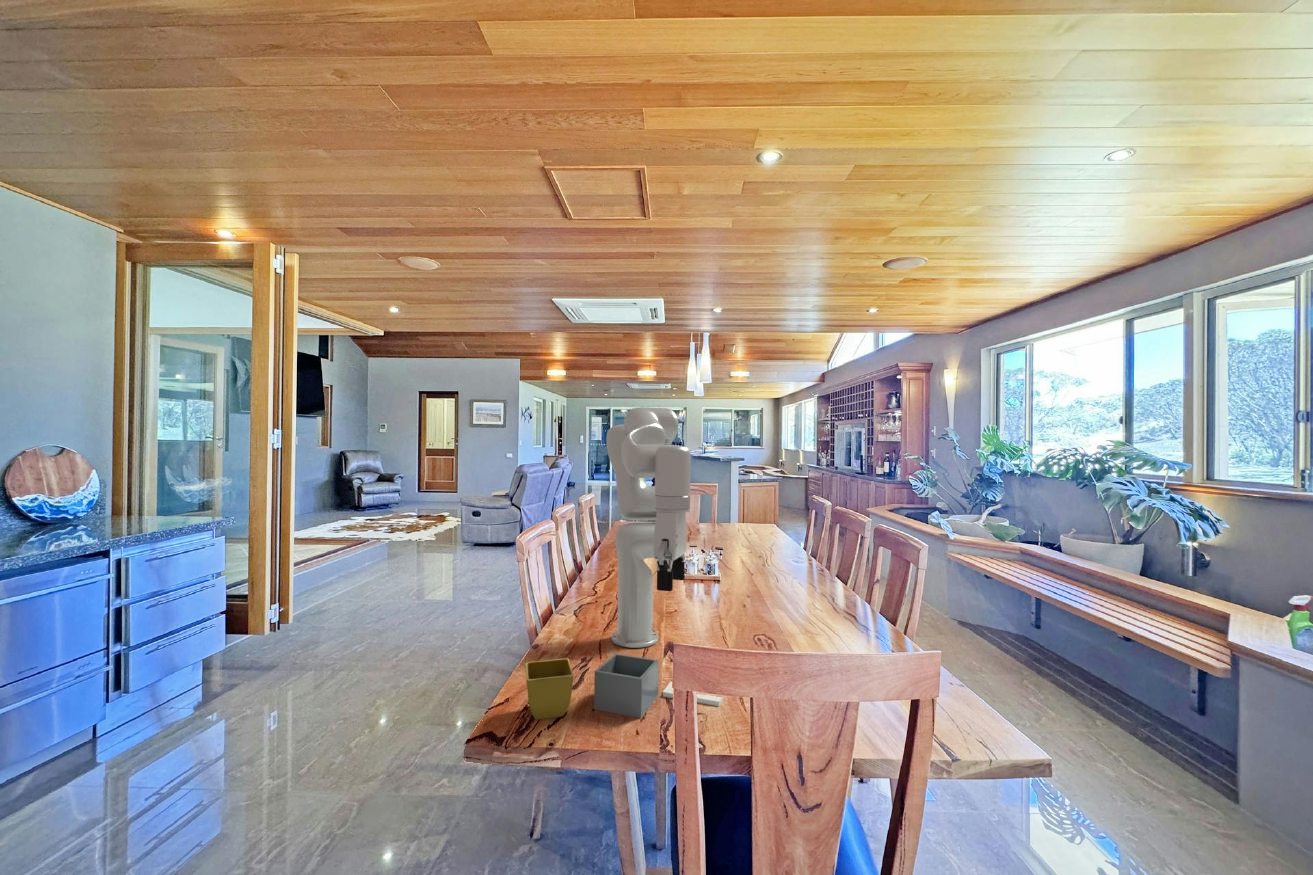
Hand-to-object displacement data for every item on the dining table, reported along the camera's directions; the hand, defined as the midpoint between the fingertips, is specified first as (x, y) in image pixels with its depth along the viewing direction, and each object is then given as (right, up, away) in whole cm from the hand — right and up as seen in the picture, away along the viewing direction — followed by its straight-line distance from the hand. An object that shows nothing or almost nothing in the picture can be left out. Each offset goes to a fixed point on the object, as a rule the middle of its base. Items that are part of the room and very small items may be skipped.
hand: (671, 584), depth 116 cm
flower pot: (-24, -23, -9) cm, 35 cm away
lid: (+6, -23, +2) cm, 24 cm away
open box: (-9, -23, -5) cm, 25 cm away
